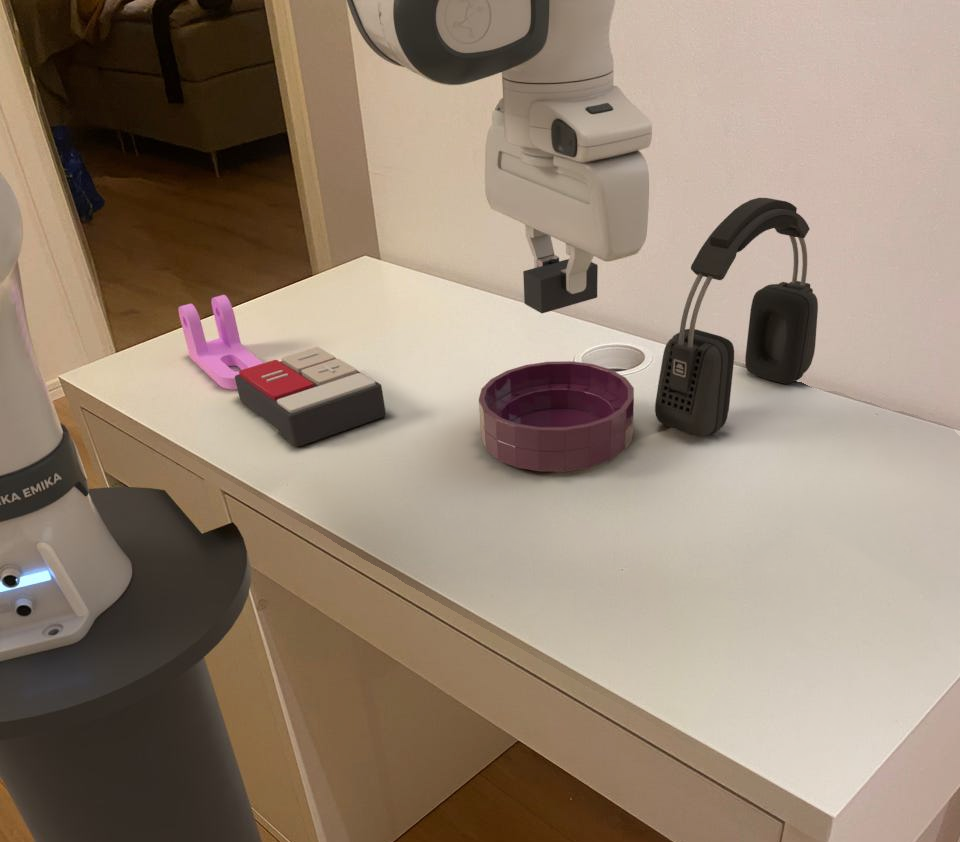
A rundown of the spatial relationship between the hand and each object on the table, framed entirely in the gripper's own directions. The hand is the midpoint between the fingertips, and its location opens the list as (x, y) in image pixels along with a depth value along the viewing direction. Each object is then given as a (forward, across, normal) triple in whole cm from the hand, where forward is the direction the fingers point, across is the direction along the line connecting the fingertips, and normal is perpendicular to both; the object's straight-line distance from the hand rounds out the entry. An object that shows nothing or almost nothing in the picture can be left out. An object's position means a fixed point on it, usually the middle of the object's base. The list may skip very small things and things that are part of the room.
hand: (560, 283), depth 89 cm
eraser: (+2, 0, 0) cm, 2 cm away
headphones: (+17, +2, +21) cm, 27 cm away
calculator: (+17, -24, -18) cm, 34 cm away
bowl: (+17, -2, +1) cm, 17 cm away
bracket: (+17, -40, -22) cm, 48 cm away
